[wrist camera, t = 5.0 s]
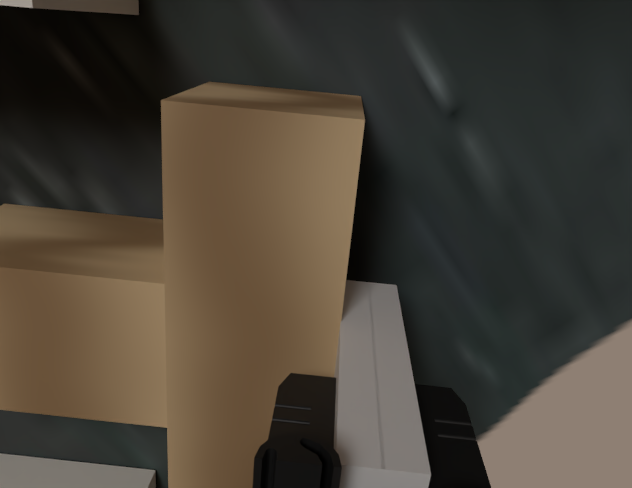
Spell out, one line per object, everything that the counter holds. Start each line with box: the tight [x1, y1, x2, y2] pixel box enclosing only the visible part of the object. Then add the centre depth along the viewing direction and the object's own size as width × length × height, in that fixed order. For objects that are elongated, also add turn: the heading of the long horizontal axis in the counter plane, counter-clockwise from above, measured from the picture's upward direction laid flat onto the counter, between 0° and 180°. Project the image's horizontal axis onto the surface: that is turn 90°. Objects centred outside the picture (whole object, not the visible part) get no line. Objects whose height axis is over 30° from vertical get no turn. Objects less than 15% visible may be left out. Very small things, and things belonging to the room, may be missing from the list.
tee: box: [0, 82, 365, 488], centre depth 15 cm, size 10×12×4 cm
